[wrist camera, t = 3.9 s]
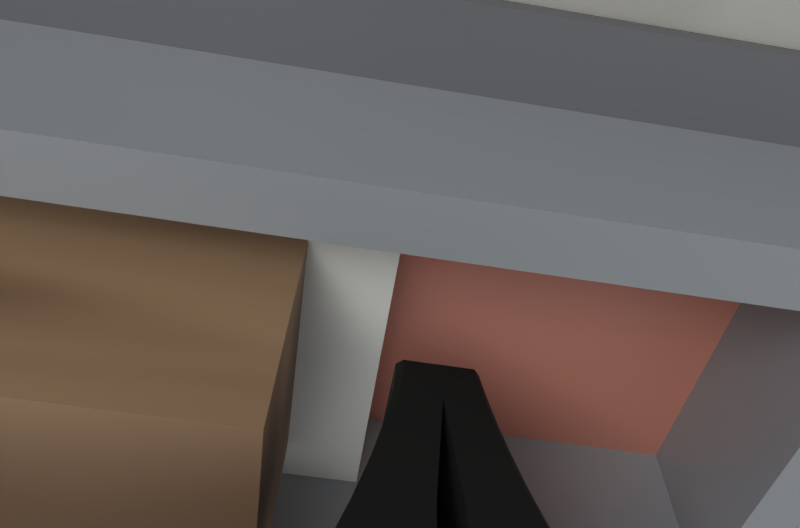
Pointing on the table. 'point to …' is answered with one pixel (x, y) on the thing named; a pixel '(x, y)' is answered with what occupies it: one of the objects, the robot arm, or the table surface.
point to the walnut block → (143, 369)
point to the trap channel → (467, 223)
